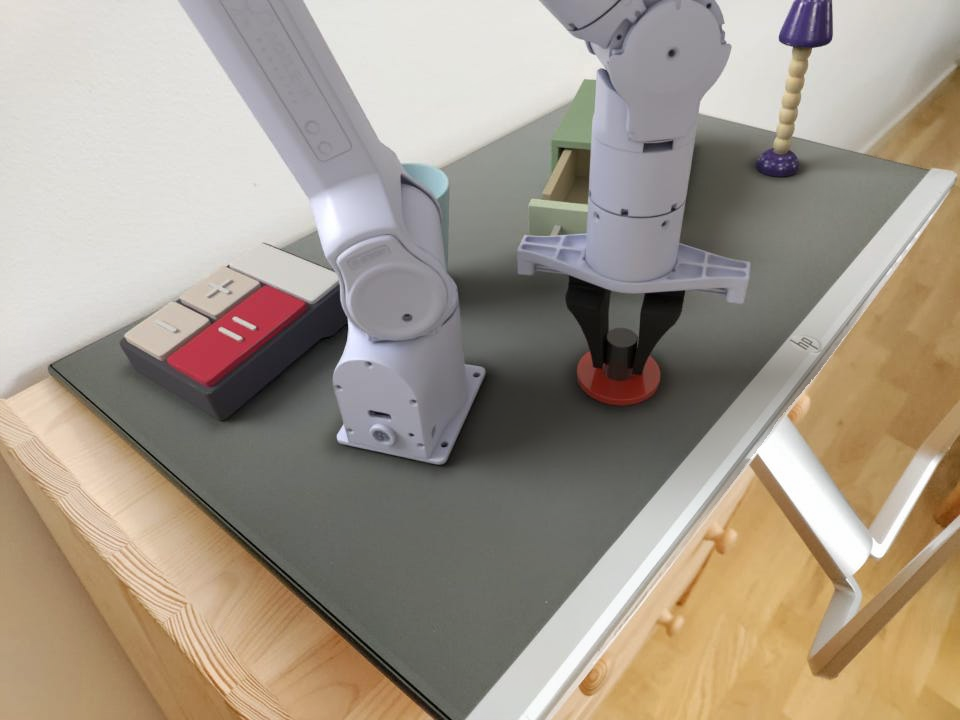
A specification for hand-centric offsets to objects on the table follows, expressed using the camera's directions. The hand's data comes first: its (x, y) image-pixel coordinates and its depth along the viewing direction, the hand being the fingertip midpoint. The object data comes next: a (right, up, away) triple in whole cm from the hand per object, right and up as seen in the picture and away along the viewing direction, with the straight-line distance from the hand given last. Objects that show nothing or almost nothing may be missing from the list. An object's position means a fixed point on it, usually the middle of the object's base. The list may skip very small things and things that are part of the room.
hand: (619, 362), depth 51 cm
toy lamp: (+21, +20, +23) cm, 38 cm away
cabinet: (+5, +20, +24) cm, 31 cm away
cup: (-16, +6, +10) cm, 20 cm away
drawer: (+1, +12, +14) cm, 18 cm away
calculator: (-29, +2, +7) cm, 30 cm away
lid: (0, -1, +1) cm, 1 cm away
